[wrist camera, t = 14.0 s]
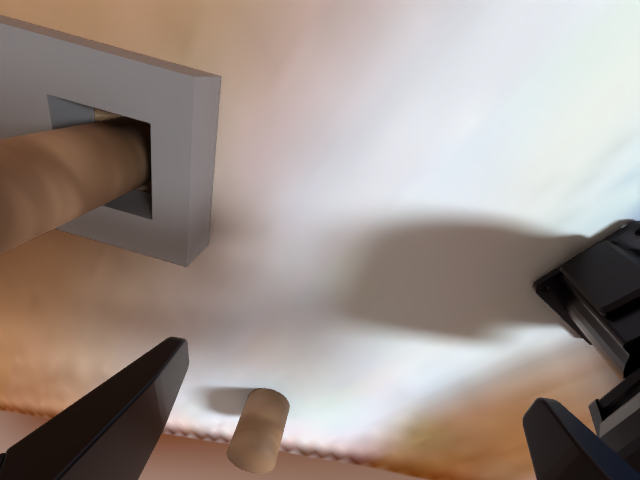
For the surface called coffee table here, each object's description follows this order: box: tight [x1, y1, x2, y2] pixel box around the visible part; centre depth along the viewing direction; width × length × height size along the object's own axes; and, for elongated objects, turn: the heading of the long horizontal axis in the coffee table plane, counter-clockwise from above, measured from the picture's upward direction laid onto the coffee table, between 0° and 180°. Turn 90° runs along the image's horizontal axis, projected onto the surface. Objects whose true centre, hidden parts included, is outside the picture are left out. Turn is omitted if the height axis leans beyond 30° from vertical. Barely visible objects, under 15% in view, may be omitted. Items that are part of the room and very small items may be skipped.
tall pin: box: [0, 117, 152, 255], centre depth 14 cm, size 4×4×14 cm
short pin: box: [227, 388, 290, 473], centre depth 28 cm, size 4×4×5 cm
